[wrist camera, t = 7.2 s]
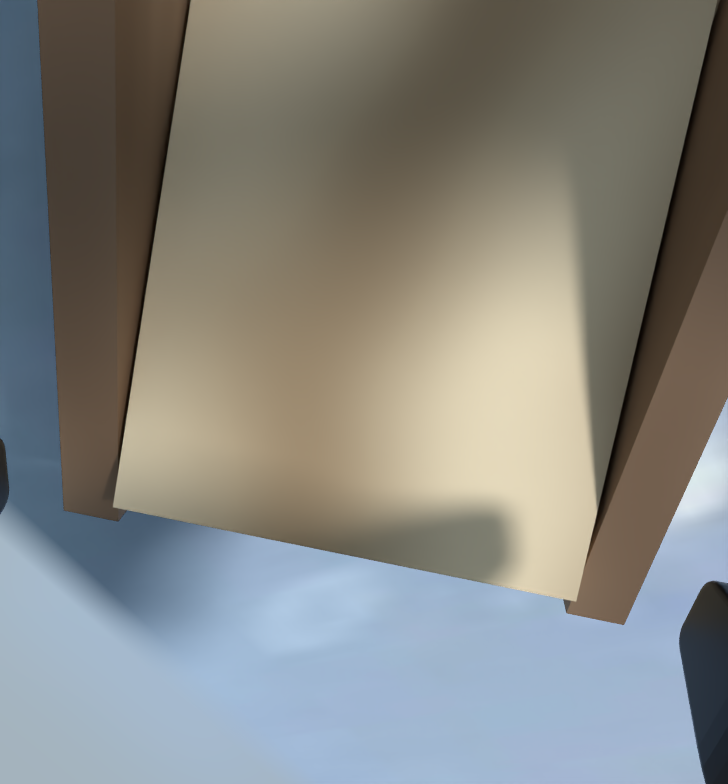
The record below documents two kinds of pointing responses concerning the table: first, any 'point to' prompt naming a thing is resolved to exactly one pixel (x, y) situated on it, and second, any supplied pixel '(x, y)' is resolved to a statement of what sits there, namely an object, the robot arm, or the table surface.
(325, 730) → the table surface
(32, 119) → the table surface
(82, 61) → the brown wooden open box
